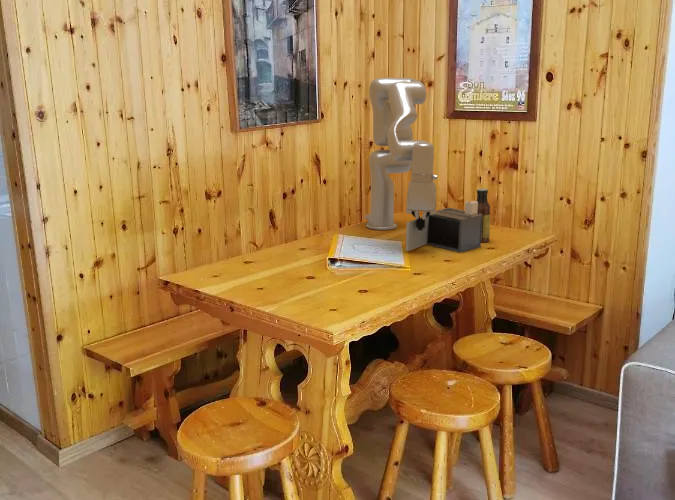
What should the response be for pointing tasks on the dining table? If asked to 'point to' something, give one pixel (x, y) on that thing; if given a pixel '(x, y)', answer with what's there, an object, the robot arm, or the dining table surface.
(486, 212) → the sauce bottle
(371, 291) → the dining table surface
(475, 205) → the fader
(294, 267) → the dining table surface
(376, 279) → the dining table surface
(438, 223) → the dark grey box
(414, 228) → the door
